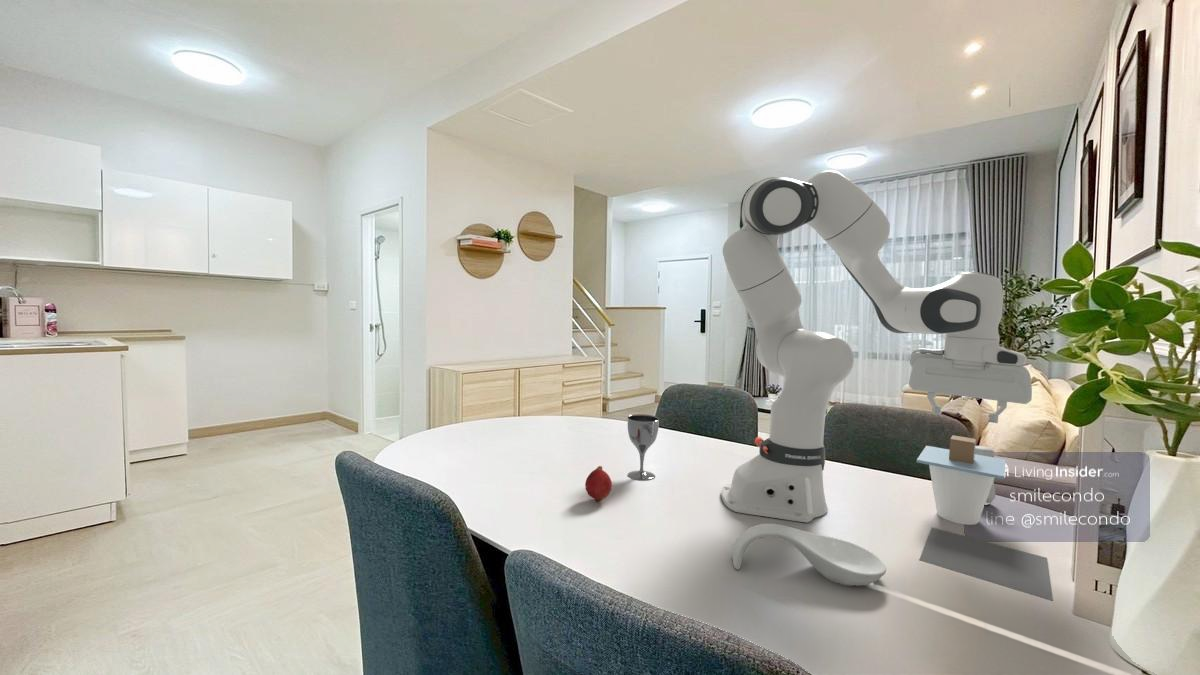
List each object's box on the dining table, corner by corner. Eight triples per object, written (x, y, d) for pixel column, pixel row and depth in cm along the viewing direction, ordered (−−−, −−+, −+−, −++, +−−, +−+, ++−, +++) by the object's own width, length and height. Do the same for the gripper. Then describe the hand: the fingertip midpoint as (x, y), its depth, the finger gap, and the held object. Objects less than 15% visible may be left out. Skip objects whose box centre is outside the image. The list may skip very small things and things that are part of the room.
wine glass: (621, 471, 126) (623, 414, 125) (650, 469, 128) (652, 413, 127) (631, 482, 118) (633, 422, 117) (661, 479, 120) (663, 421, 119)
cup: (910, 511, 105) (914, 455, 105) (949, 505, 109) (953, 451, 108) (965, 536, 94) (970, 474, 93) (1007, 529, 98) (1012, 469, 97)
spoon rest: (866, 561, 84) (869, 521, 84) (898, 602, 73) (902, 556, 72) (728, 548, 88) (730, 510, 87) (737, 585, 76) (739, 541, 75)
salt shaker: (1000, 508, 108) (1005, 452, 107) (971, 506, 109) (976, 449, 108) (985, 498, 114) (989, 444, 113) (958, 496, 115) (962, 442, 114)
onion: (587, 507, 103) (588, 470, 102) (583, 496, 109) (583, 462, 108) (613, 505, 104) (614, 469, 104) (608, 495, 110) (609, 461, 109)
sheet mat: (1052, 604, 73) (1053, 600, 73) (918, 563, 84) (919, 559, 84) (1046, 561, 85) (1047, 557, 85) (931, 530, 97) (931, 527, 96)
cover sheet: (1004, 479, 91) (1006, 453, 91) (916, 462, 100) (918, 438, 100) (1005, 462, 102) (1007, 439, 101) (926, 448, 111) (927, 426, 110)
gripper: (908, 347, 104) (903, 411, 104) (1036, 357, 90) (1028, 430, 91) (913, 346, 108) (907, 407, 109) (1035, 356, 95) (1027, 425, 96)
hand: (963, 418), depth 100 cm, fingers open, 8 cm apart
